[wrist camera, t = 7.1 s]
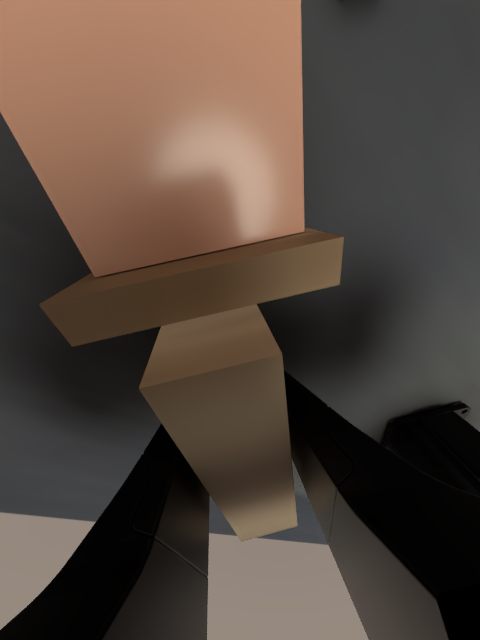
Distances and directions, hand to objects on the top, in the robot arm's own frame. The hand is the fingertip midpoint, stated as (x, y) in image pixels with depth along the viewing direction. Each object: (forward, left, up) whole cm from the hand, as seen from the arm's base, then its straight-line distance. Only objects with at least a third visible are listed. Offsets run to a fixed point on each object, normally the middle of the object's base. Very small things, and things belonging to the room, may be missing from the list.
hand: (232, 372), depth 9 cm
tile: (+8, 0, -2) cm, 8 cm away
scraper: (-1, 0, -1) cm, 2 cm away
